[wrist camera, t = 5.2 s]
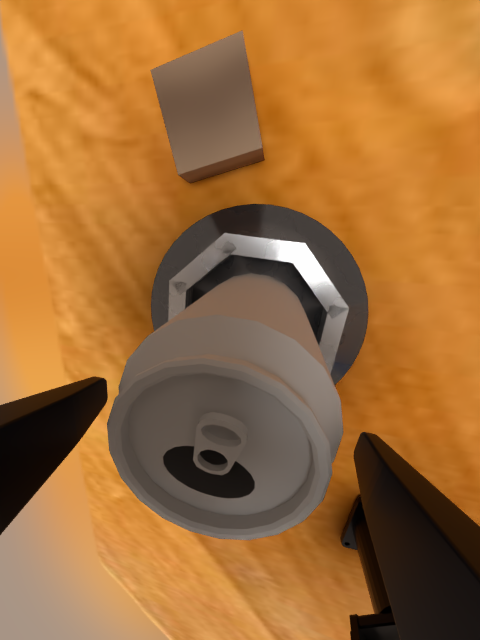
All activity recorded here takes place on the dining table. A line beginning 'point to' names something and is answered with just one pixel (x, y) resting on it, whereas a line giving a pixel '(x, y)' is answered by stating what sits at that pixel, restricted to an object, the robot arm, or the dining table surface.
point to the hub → (270, 272)
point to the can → (229, 414)
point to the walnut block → (210, 109)
